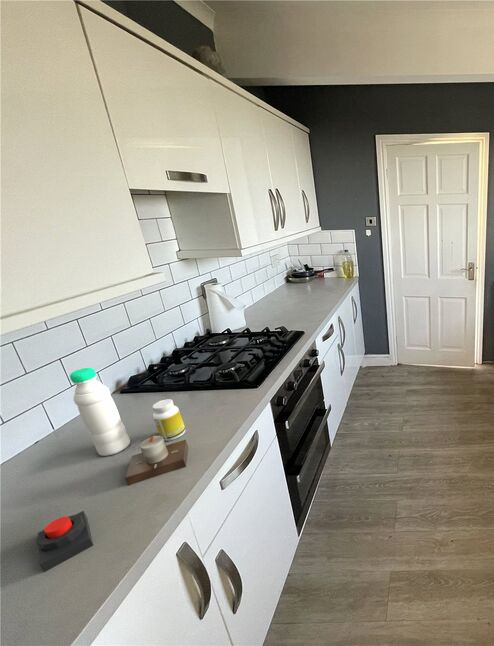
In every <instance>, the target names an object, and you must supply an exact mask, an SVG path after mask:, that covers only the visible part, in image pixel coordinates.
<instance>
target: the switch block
mask: <svg viewBox="0 0 494 646" xmlns="http://www.w3.org/2000/svg"><path fill="white" fill-rule="evenodd" d="M67 517H69V518H70V520H71V522H72V524H73V525H72V527H71V529H69V530H68V531H67V532H66V533H64V534H62V535H60V536H58V537H56V538H52V539H50V538H48V537H47V535H46V533H45V532H44V529H42V530H41V531H38V532H37V537H36V544H37V547H38V554H39V555H38V557H39V558H38V559H39V566H40V567H41V569H42V571H43V572H44V573H46V572H48V571H50V570H51V569H53V568H55V567H57V566H59V565H61V564H62V563H64V562H66V561H67V560H69V559H71V558H73V557H75V556H77V555H79V554H80V553H82V552H84V551H86V550H89V548H91V547H93V546H94V542H93V537H92V533H91V528H90V523H89V520H88V517H87V515H86V512H85V511H84V510H82V511H80V512H78V513H76V514H72V515H68V516H67Z"/></svg>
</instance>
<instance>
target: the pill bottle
mask: <svg viewBox="0 0 494 646" xmlns="http://www.w3.org/2000/svg"><path fill="white" fill-rule="evenodd" d="M152 409H153V414H152V420H153V422H154V424H155V427H156V430H157V432H158V434H159V435H158V436H162V437H163V440H164V442H170V441H175V440H177V439H179V438H180V437H182V436H183V435H185V433H186V431H187V429H186V426H185V423H184V420H183V418H182V414H181V411H180V409H179V407H178V406H177V405H174V401H173V399H170V398H167V399H162V400H159V401H157V402H155V403H154V404H153V405H152Z"/></svg>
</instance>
